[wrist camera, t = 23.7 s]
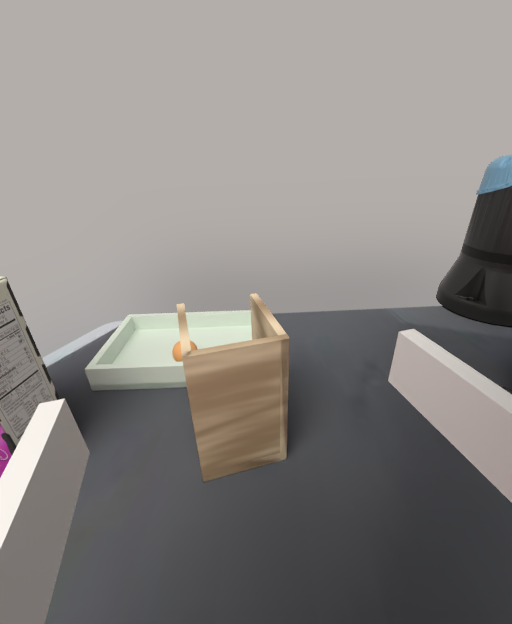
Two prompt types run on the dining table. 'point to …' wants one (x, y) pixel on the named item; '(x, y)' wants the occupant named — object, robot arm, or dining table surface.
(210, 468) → the tall wooden crate
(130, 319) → the tray
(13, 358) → the candy bar box
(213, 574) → the dining table surface
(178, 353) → the ball
